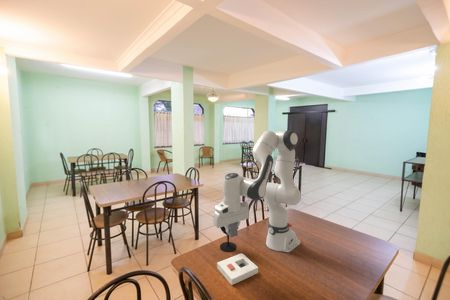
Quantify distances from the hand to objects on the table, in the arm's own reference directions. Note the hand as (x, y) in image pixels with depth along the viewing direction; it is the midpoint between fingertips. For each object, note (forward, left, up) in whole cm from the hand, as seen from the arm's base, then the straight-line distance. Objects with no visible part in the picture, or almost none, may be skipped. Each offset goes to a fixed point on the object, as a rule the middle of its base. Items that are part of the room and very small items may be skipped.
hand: (232, 230), depth 108 cm
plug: (0, 0, -2) cm, 2 cm away
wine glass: (-8, -16, -20) cm, 27 cm away
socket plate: (-1, +4, -20) cm, 21 cm away
